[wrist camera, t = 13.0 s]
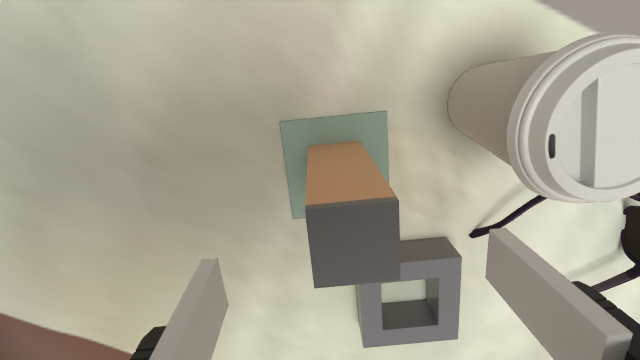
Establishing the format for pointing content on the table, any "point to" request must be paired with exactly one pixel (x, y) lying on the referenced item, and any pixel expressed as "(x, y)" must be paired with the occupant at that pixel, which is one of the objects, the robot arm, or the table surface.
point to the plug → (350, 217)
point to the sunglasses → (635, 239)
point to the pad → (330, 131)
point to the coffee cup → (560, 117)
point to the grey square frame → (420, 315)
